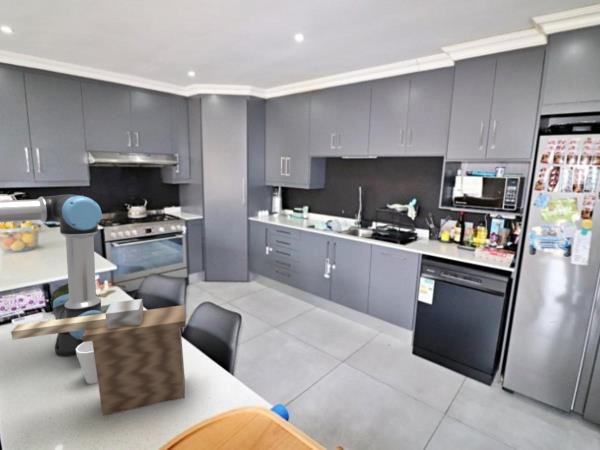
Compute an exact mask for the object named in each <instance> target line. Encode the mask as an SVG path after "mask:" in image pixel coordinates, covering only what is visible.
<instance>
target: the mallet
mask: <svg viewBox="0 0 600 450" xmlns="http://www.w3.org/2000/svg"><path fill="white" fill-rule="evenodd" d="M109 304H110V306H109V308H108V310H107V312H106V313H105V314H97V315H89V316H82V317H74V318H66V319H58V320H55V319H50V320H46V321H45V320H43V321H36V322H29V323H21V324H17V325H16V326H15V327H14V328H13V329H12V330H11V331H10V334H11V338H12V339H11V340H19V339H20V340H21V339H25V338H26V339H27V338H33V337H42V336H47V335H57V334H58V333H63V332H70V331H77V330H84V329H92V328H99V327H106V326H107V329H113V328H120V327H127V326H134V325H140V324H141V321H142V317H143V314H144V312H143V310H144V303H143V298H140V299H139V298H138V299H131V300H130V299H129V300H122V301H115V302H110V303H109Z"/></svg>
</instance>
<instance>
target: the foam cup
mask: <svg viewBox="0 0 600 450" xmlns="http://www.w3.org/2000/svg"><path fill="white" fill-rule="evenodd" d="M76 354H77V355H76V357H77V359H78V361H79V365H80V367H81V370H82V372H83V376H84V378H85V379H84V380H85V381H86V382H85V383H86V384H89V385H91V384H96V383H97V384H98V378H97V371H96V364H95V357H94V349H93V342H92V341H88V342H83V343H81V344H80V345H78V346H77V348H76Z"/></svg>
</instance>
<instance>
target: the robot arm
mask: <svg viewBox="0 0 600 450" xmlns="http://www.w3.org/2000/svg"><path fill="white" fill-rule="evenodd" d="M102 217H103V215H102V210H101V207H100V205H99V204H98V203H97V202H96V201H95V200H93V199H92V198H90V197H87V196H85V195H78V194H73V193H72V194H71V193H68V194H59V195H50V196H40V197H38V198H37V199H20V200H19V199H16V200H14V199H13V200H9V199H8V200H0V223H11V222H28V221H41V222H42V223H50V222H51V223H59V232H60V234H61V235H62V236H63V237H64V238H65V247H66V248H65V249H66V263H67V268H66V269H67V284H68V287H69V294H66V295H63V296H60V297H58V298H56V299H55V300H54V301H53V308H54V310H53V312H54V318H55V319H54V320H58V319H66V318H74V317H82V316H89V315H97V314H104V313H102V312H101V306H102V301H101V298H100V297H99V296H97V288H96V287H97V286H96V285H97V284H96V263H95V244H94V243H95V241H94V240H95V239H94V238H95V237H94V236H95V235H96V234H97V233H98V232H99V227H98V226H99V224H100V222H101V221H102ZM85 331H86V329H84V330H77V331H70V332H63V333H57V334H56V335H57V336H56V340H55V344H54V351H55V352H54V353H55V354H56V355H57V356H59V357H74V356H77V354H76V348H77V346H78V345H80V344H81V343H83V337H82V336H83V334H84V332H85Z"/></svg>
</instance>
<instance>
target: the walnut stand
mask: <svg viewBox="0 0 600 450" xmlns="http://www.w3.org/2000/svg"><path fill="white" fill-rule="evenodd" d="M186 311H187V309H186V304H182V305H176V306H174V305H173V306H167V307H158V308H153V309H152V308H151V309H145V310H144V309H143V312H144V314H143V317H142V321H141V324H140V325H134V326H127V327H120V328H113V329H107V326H106V327H99V328H92V329H86V331H85V332H84V334H83V336H82V337H83V342H88V341H92V342H93V349H94V357H95V364H96V371H97V378H98V382H97V384H98V391H99V398H100V399H99V400H100V405H101V413H102V416H105V415H106V416H107V415H111V414H115V413H121V412H125V411H129V410H133V409H139V408H143V407H148V406H152V405H157V404H161V403H165V402H171V401H176V400H179V399H185V393H186V392H185V391H186V390H185V388H186V387H185V382H186V381H185V380H186V379H185V364H184V352H183V341H182V340H183V339H182V328H186V318H187V317H186V316H187V315H186V313H187V312H186Z"/></svg>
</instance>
